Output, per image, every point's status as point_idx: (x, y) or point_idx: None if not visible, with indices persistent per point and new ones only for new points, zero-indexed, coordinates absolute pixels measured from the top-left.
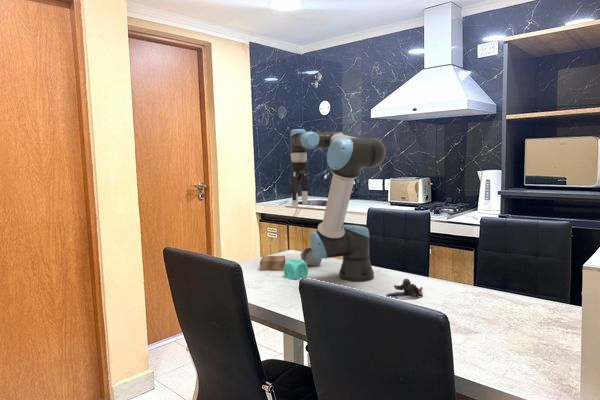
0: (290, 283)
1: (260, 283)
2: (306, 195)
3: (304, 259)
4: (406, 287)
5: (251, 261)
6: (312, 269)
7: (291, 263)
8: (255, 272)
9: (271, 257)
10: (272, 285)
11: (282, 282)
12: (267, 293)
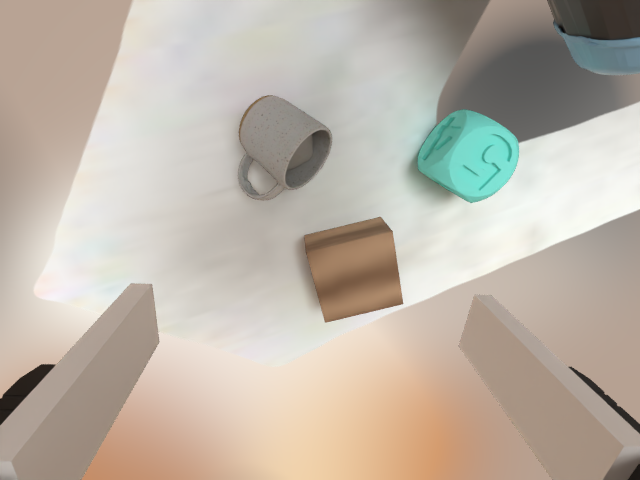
0: None
1: (497, 244)
2: (81, 382)
3: (289, 172)
4: None
5: (253, 358)
6: None
7: (514, 169)
8: None
9: (341, 289)
10: (519, 204)
11: None
12: (593, 191)
